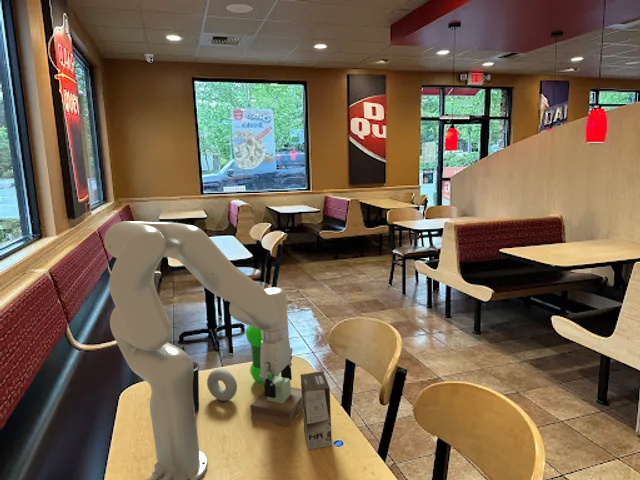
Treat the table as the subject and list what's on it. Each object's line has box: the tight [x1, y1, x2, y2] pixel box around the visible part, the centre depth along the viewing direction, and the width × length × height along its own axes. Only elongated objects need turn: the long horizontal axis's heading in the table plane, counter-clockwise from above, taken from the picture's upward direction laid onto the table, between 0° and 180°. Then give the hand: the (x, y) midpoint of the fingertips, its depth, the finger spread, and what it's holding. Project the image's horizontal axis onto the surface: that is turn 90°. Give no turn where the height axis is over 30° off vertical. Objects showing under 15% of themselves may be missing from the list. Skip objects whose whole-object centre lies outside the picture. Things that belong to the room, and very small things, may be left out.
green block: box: [267, 376, 291, 404], centre depth 127 cm, size 5×5×5 cm
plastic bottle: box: [245, 325, 281, 386], centre depth 142 cm, size 10×10×25 cm
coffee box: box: [299, 370, 333, 450], centre depth 114 cm, size 9×6×16 cm
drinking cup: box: [181, 346, 200, 414], centre depth 128 cm, size 8×8×20 cm
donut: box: [206, 368, 238, 402], centre depth 134 cm, size 10×4×10 cm, turn 68°
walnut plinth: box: [250, 386, 303, 427], centre depth 128 cm, size 12×12×4 cm
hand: (278, 387), depth 127 cm, fingers open, 9 cm apart
